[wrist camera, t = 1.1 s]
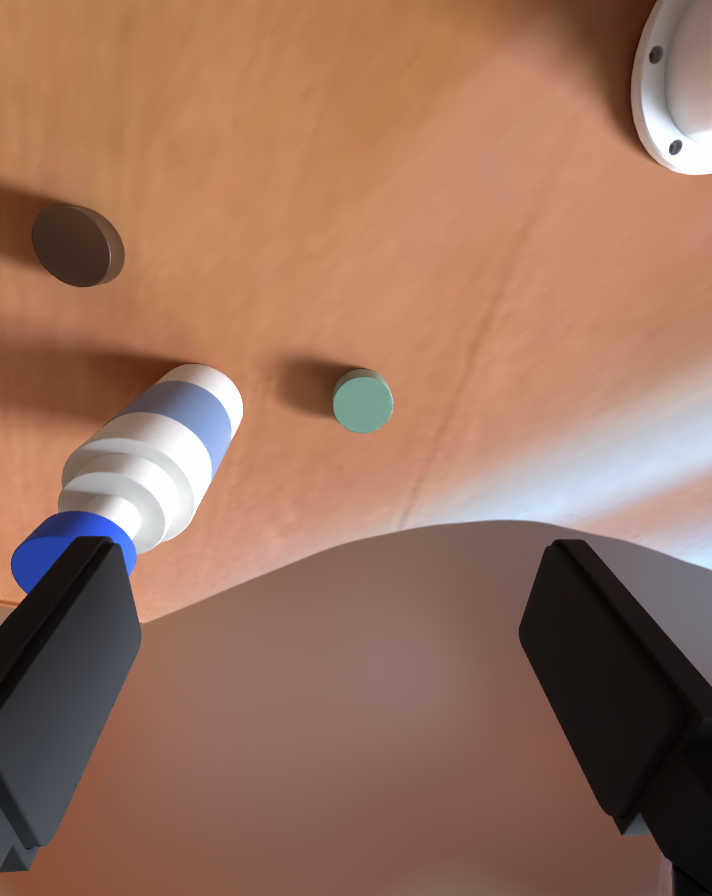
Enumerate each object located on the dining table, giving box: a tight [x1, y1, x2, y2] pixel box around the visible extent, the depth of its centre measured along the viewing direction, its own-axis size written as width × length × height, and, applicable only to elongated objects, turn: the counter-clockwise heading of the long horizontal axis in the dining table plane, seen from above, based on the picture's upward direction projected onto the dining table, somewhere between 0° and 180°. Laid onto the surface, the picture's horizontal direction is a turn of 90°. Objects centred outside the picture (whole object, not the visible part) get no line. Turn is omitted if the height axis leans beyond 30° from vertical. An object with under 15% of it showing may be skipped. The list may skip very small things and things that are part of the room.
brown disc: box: [32, 205, 125, 287], centre depth 29 cm, size 5×5×2 cm
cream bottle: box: [11, 364, 243, 594], centre depth 27 cm, size 7×7×20 cm
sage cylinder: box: [333, 369, 393, 433], centre depth 35 cm, size 5×5×2 cm
